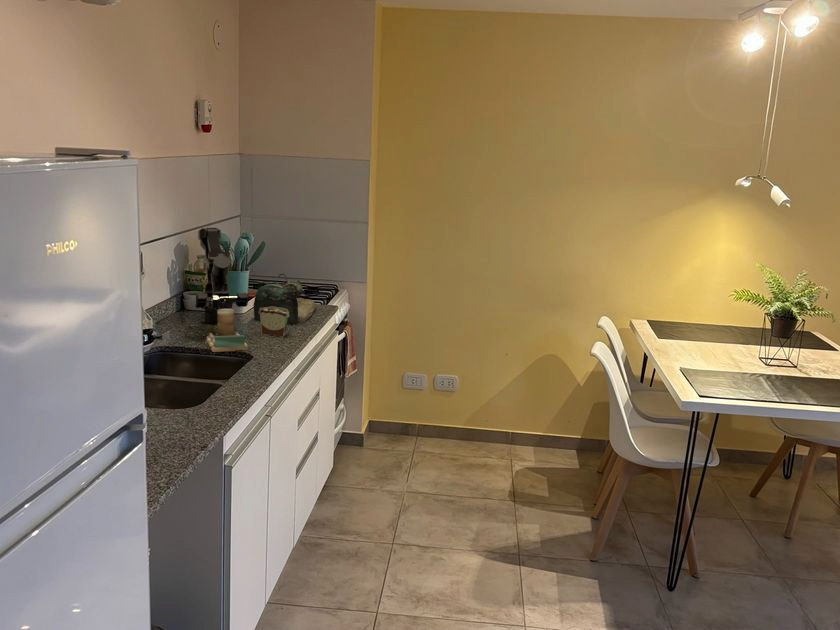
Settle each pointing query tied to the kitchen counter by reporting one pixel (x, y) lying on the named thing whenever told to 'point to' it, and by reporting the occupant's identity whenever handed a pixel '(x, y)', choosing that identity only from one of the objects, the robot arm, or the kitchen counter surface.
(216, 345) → the maple mount
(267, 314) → the food container
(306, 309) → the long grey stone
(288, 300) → the ceramic cat
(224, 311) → the brown cup
